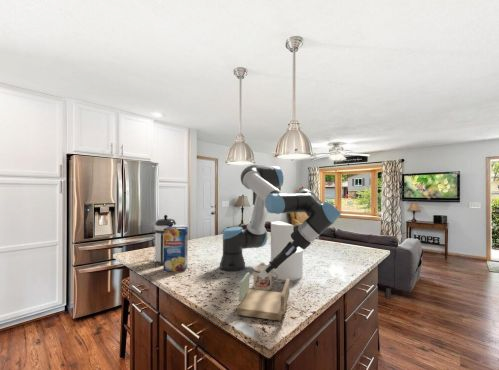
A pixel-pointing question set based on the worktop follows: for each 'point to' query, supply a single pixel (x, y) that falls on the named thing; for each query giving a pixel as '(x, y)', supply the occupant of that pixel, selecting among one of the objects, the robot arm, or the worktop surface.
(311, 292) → the worktop surface
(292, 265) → the cylinder
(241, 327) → the worktop surface
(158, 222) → the coffee press
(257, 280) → the teacup with lid
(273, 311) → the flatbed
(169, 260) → the juice carton
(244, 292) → the panel
